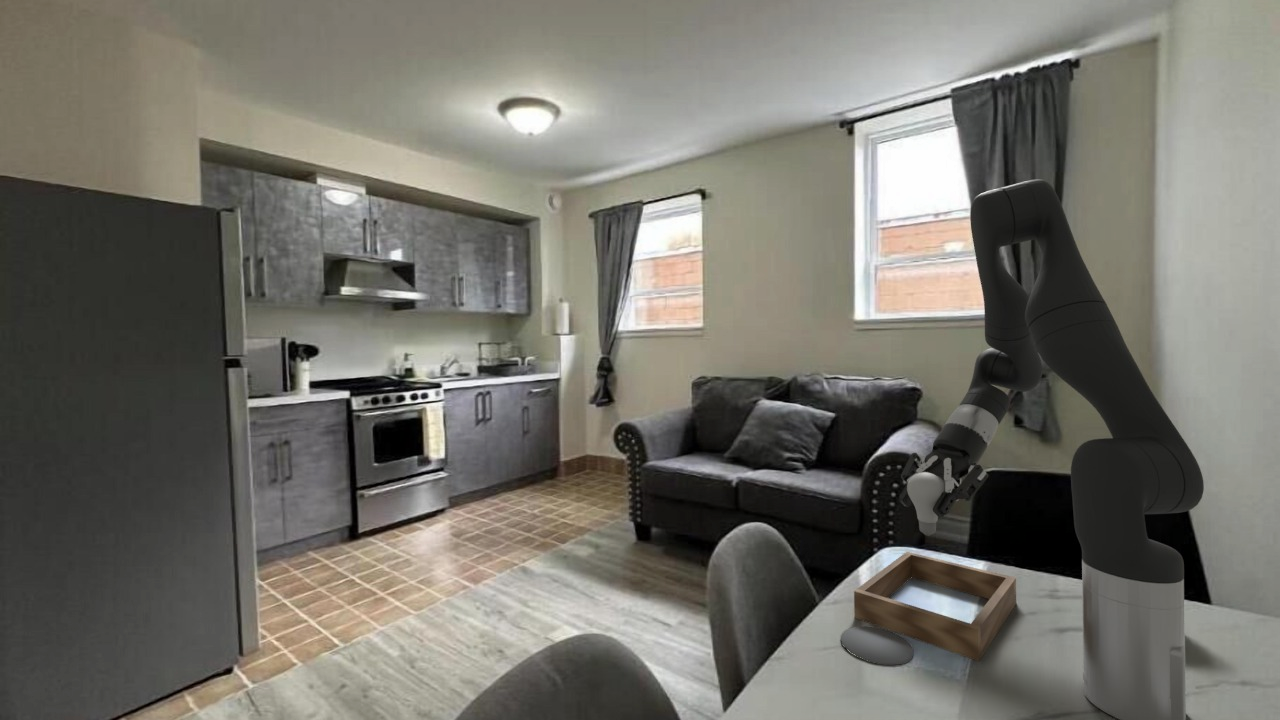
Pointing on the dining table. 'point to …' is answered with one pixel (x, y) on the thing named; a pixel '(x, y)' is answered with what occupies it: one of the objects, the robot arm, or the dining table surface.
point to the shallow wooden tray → (930, 625)
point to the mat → (877, 645)
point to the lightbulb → (925, 499)
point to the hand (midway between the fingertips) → (919, 508)
